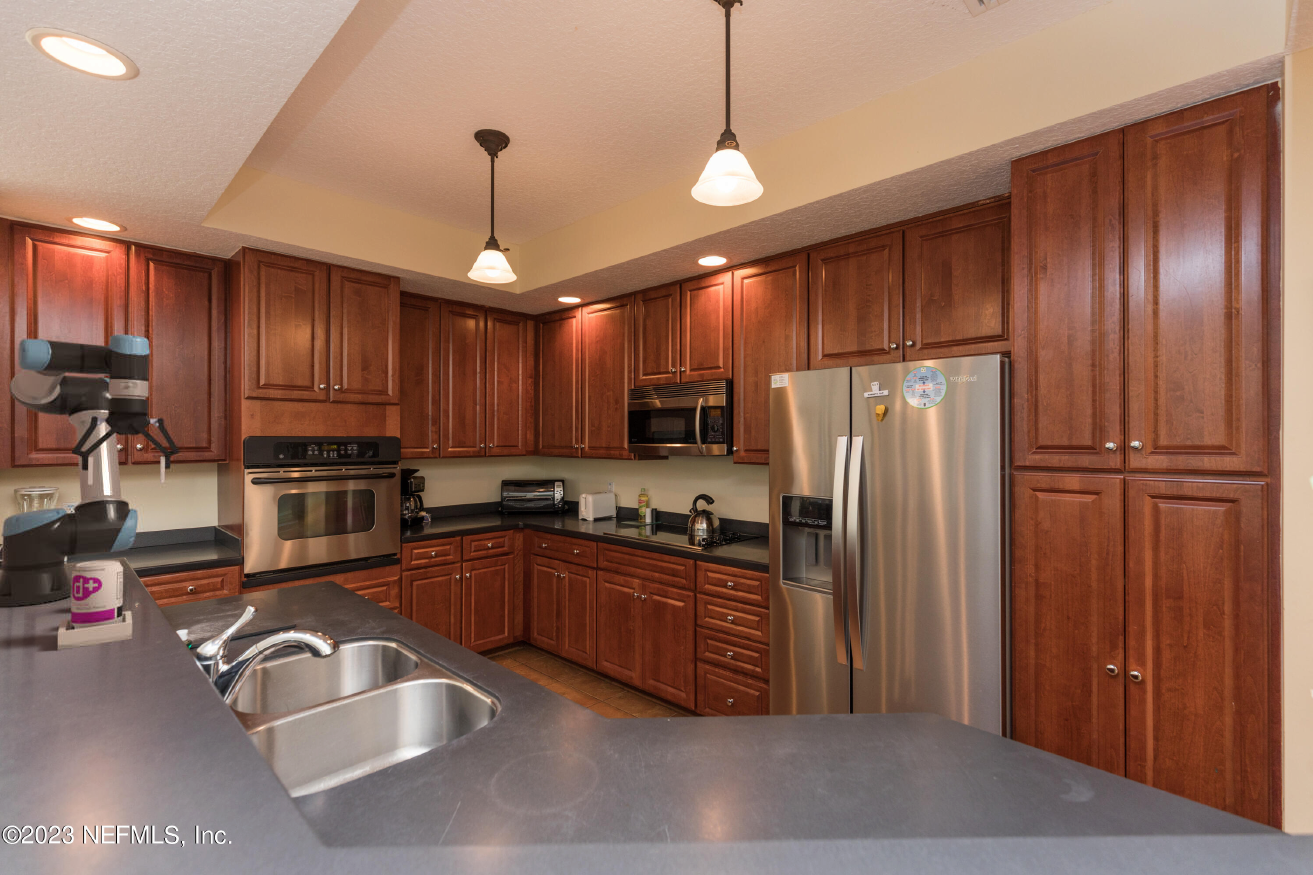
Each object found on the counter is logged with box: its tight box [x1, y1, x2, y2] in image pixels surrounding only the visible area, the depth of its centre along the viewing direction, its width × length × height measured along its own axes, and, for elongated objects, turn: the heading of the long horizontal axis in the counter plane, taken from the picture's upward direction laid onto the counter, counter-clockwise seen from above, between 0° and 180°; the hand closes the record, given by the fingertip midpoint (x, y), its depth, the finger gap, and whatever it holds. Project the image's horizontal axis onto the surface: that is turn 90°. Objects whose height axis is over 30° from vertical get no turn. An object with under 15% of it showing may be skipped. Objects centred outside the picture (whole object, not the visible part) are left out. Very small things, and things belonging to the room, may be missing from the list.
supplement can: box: [70, 559, 124, 630], centre depth 134 cm, size 8×8×15 cm
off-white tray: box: [57, 610, 133, 651], centre depth 134 cm, size 12×12×4 cm
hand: (127, 483), depth 154 cm, fingers open, 13 cm apart
